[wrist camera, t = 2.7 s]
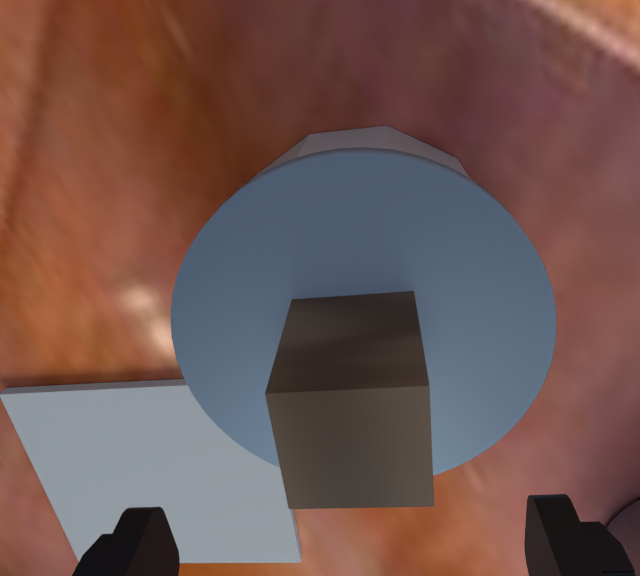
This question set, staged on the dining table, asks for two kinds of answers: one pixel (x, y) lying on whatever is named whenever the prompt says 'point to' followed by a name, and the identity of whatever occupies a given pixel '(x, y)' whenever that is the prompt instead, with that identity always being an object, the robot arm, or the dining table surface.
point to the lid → (363, 324)
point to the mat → (152, 469)
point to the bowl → (367, 145)
